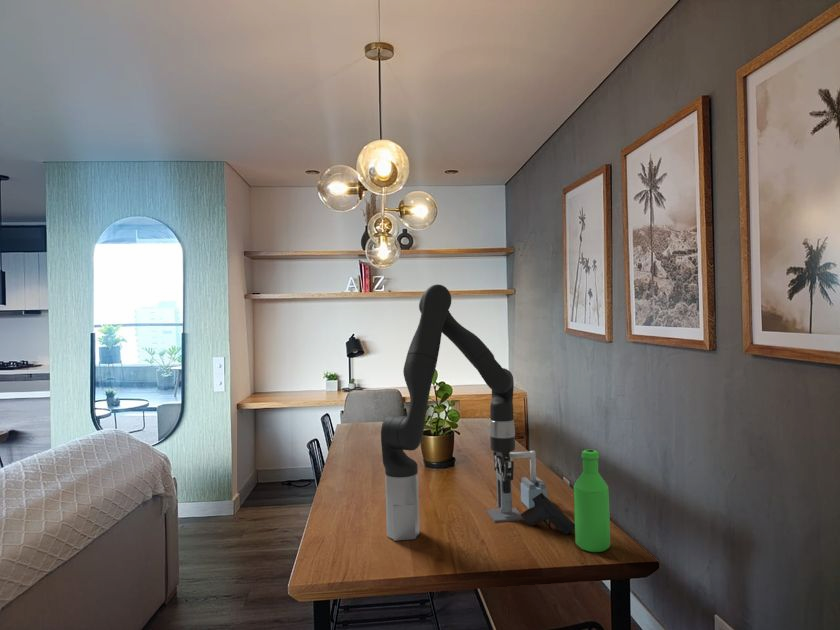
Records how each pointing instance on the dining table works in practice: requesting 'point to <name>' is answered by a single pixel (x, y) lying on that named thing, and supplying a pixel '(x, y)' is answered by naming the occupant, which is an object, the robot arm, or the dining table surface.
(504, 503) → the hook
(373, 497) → the dining table surface
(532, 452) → the grey hanging stand
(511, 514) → the mat
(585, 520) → the bottle
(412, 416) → the robot arm
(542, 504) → the handgun
